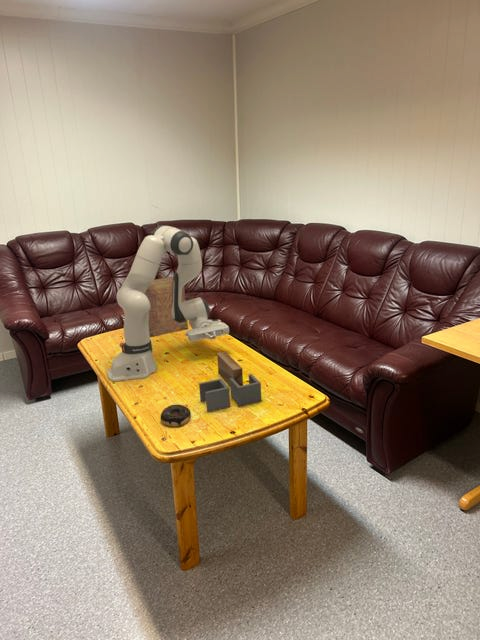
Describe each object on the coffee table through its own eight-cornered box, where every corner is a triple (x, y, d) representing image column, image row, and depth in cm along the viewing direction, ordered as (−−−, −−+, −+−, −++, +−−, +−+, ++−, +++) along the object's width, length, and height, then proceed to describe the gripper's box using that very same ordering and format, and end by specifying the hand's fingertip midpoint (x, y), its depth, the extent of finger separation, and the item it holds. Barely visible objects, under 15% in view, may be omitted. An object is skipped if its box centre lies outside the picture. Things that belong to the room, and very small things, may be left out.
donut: (158, 428, 163) (157, 418, 162) (164, 411, 175) (163, 402, 173) (188, 427, 163) (187, 418, 162) (193, 411, 174) (192, 401, 173)
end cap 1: (230, 406, 175) (229, 388, 173) (207, 412, 172) (206, 393, 170) (222, 396, 184) (220, 378, 181) (200, 401, 181) (198, 383, 178)
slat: (234, 392, 187) (233, 370, 184) (218, 373, 205) (217, 353, 201) (243, 390, 188) (242, 368, 185) (226, 371, 206) (225, 351, 203)
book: (146, 338, 252) (139, 285, 242) (140, 333, 260) (134, 282, 250) (188, 329, 264) (183, 278, 254) (182, 324, 271) (177, 275, 262)
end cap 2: (239, 406, 175) (238, 387, 172) (230, 396, 183) (229, 378, 181) (261, 401, 178) (260, 382, 176) (252, 391, 186) (251, 373, 184)
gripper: (183, 326, 220) (191, 335, 208) (222, 318, 227) (232, 327, 214) (184, 338, 222) (192, 348, 210) (223, 330, 229) (233, 339, 216)
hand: (213, 337), depth 212 cm, fingers closed
